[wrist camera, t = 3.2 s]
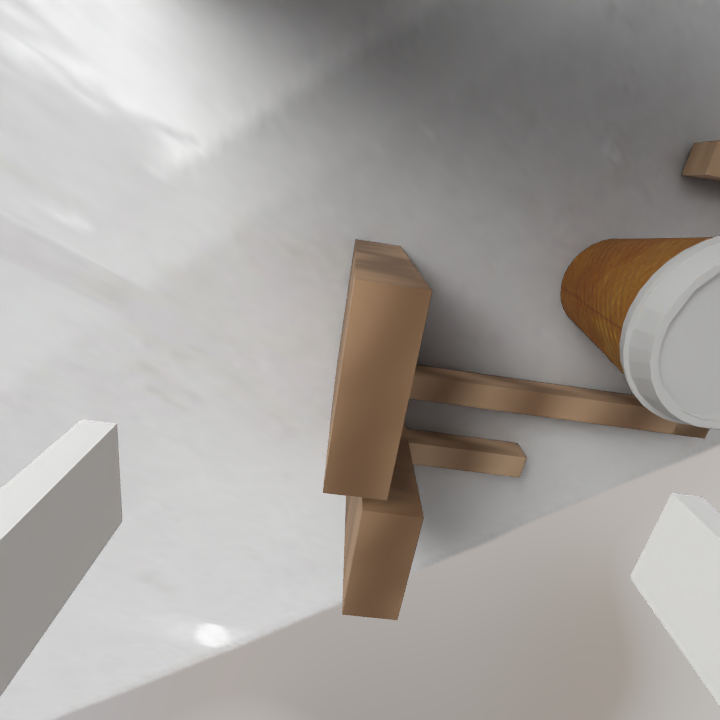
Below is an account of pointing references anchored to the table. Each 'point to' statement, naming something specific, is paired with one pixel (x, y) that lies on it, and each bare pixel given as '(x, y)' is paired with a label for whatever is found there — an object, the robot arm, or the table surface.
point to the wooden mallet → (406, 517)
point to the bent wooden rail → (439, 370)
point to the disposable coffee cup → (654, 319)
